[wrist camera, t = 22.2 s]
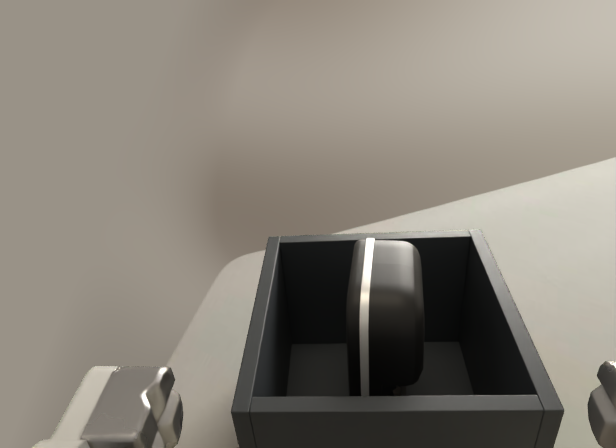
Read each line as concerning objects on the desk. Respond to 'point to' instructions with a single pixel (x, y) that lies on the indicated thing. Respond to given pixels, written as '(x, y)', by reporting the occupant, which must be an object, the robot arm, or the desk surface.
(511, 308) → the trash bin
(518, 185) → the desk surface
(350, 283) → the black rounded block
